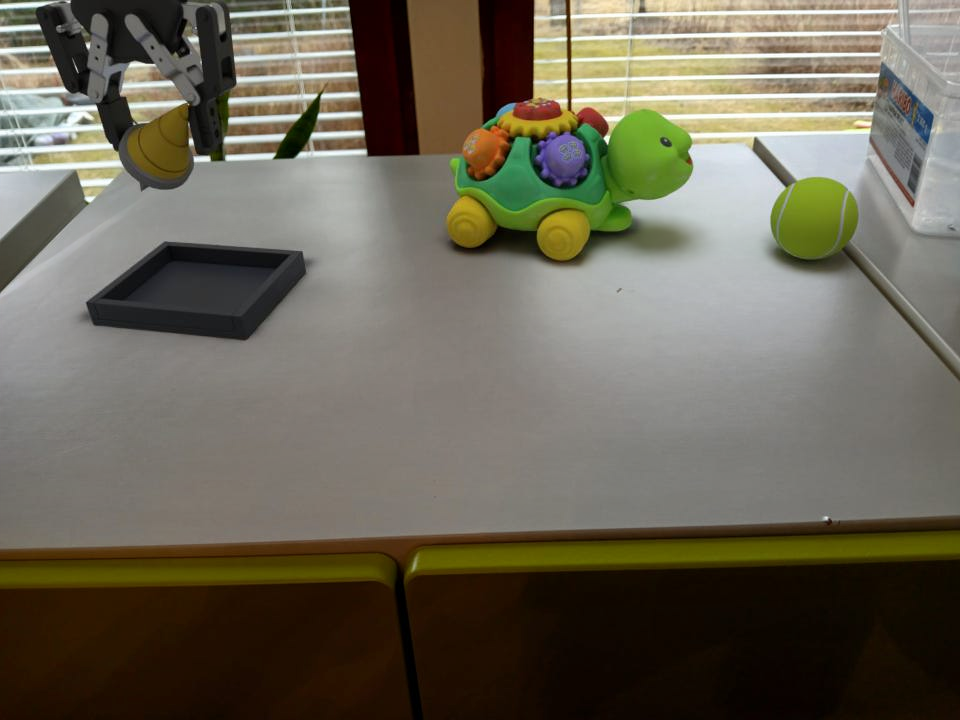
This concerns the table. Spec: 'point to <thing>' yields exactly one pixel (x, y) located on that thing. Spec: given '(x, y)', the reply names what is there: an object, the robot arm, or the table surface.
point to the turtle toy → (562, 173)
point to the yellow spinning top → (159, 151)
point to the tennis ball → (814, 218)
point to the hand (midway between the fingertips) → (166, 149)
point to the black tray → (199, 289)
